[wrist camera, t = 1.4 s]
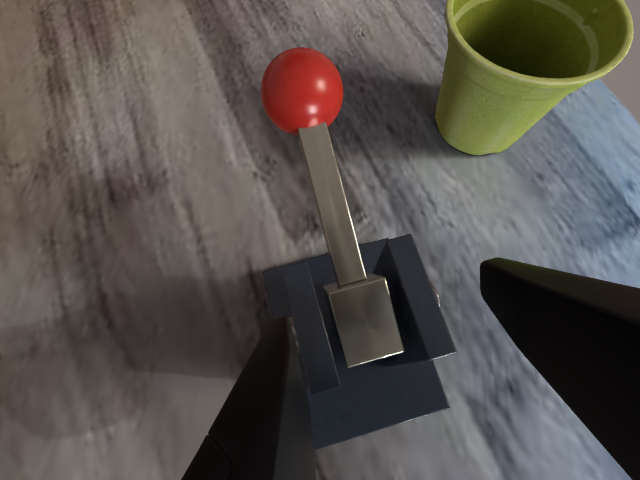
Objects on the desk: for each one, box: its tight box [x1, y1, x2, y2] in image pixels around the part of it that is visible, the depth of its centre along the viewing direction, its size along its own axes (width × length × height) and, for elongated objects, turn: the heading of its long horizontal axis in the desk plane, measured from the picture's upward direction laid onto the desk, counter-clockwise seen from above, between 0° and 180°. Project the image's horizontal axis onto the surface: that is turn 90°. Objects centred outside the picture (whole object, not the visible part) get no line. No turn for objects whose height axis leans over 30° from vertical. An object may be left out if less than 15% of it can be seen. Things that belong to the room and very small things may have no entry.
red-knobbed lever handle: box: [261, 47, 405, 368], centre depth 14 cm, size 12×3×3 cm, turn 15°
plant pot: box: [435, 0, 633, 155], centre depth 23 cm, size 9×9×9 cm
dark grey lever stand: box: [263, 234, 456, 450], centre depth 17 cm, size 10×8×10 cm
